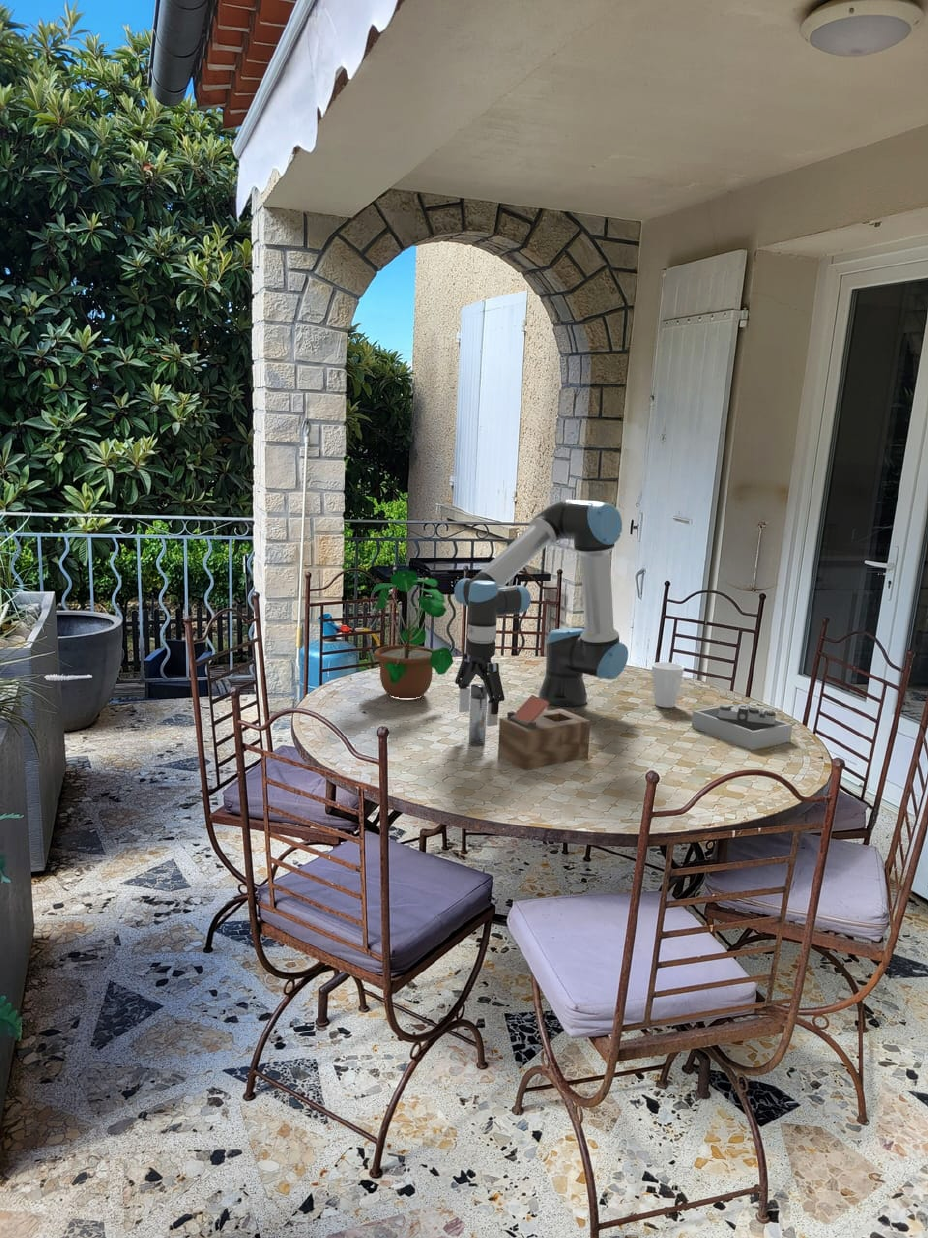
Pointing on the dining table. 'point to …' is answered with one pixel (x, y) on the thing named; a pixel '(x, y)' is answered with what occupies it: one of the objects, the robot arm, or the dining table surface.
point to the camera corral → (740, 730)
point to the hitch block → (544, 739)
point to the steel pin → (478, 715)
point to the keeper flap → (530, 710)
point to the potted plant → (411, 642)
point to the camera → (747, 717)
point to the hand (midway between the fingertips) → (477, 718)
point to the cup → (666, 683)
